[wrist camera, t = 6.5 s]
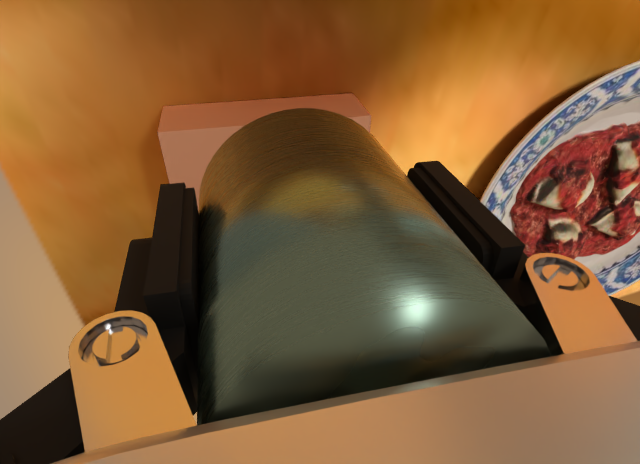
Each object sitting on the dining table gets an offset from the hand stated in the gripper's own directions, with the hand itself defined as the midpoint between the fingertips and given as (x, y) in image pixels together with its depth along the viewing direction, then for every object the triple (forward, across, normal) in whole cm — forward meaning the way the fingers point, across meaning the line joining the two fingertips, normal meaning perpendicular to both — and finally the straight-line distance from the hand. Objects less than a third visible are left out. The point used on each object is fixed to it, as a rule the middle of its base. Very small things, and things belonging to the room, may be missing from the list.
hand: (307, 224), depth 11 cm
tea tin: (+1, 0, 0) cm, 1 cm away
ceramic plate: (+18, -30, +13) cm, 37 cm away
